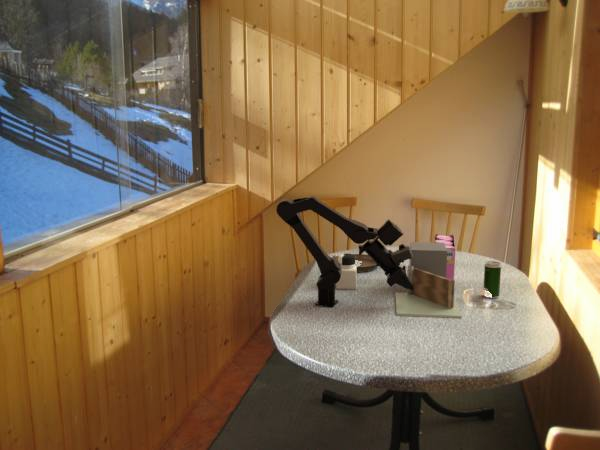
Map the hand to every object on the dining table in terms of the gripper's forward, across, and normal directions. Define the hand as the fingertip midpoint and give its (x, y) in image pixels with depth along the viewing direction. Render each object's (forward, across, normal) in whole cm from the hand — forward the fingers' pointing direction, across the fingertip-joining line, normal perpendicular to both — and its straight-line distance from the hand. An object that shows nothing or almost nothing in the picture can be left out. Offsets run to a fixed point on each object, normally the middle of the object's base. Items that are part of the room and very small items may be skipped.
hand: (413, 289), depth 208 cm
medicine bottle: (-11, +20, +21) cm, 31 cm away
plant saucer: (-10, +48, +20) cm, 52 cm away
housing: (+8, +8, +1) cm, 11 cm away
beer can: (+23, +14, -15) cm, 31 cm away
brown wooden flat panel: (+8, +4, -1) cm, 10 cm away
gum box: (+14, +40, -5) cm, 43 cm away
